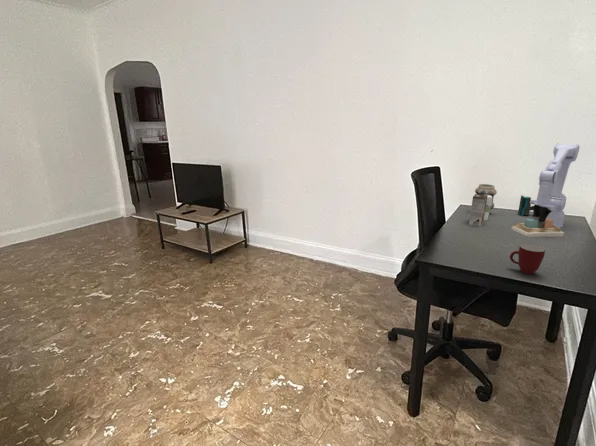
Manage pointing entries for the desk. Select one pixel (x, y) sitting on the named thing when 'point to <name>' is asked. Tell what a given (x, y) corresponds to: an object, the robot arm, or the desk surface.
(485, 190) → the stone pedestal urn
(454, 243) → the desk surface
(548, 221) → the block
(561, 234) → the dock
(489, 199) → the syrup box
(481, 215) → the coffee box
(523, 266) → the mug
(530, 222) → the light teal cube
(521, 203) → the surveillance camera
